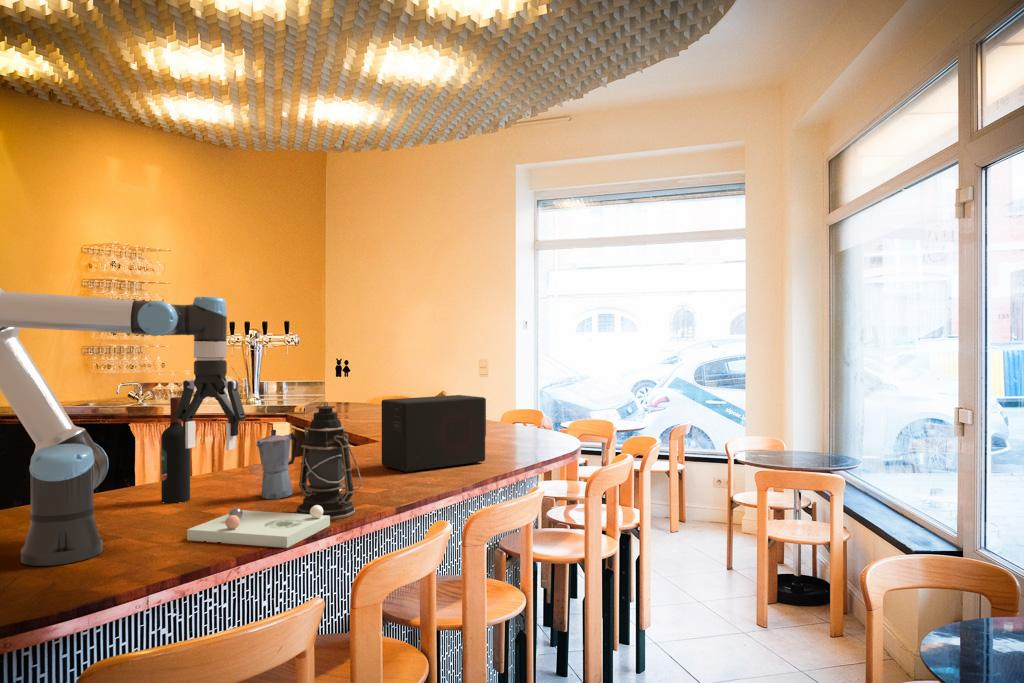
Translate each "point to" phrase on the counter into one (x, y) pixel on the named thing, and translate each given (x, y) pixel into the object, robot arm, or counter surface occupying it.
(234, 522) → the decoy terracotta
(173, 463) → the wine bottle
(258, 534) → the board
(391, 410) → the black rectangular block
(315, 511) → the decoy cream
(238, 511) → the steel ball
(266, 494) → the moka pot
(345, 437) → the lantern
